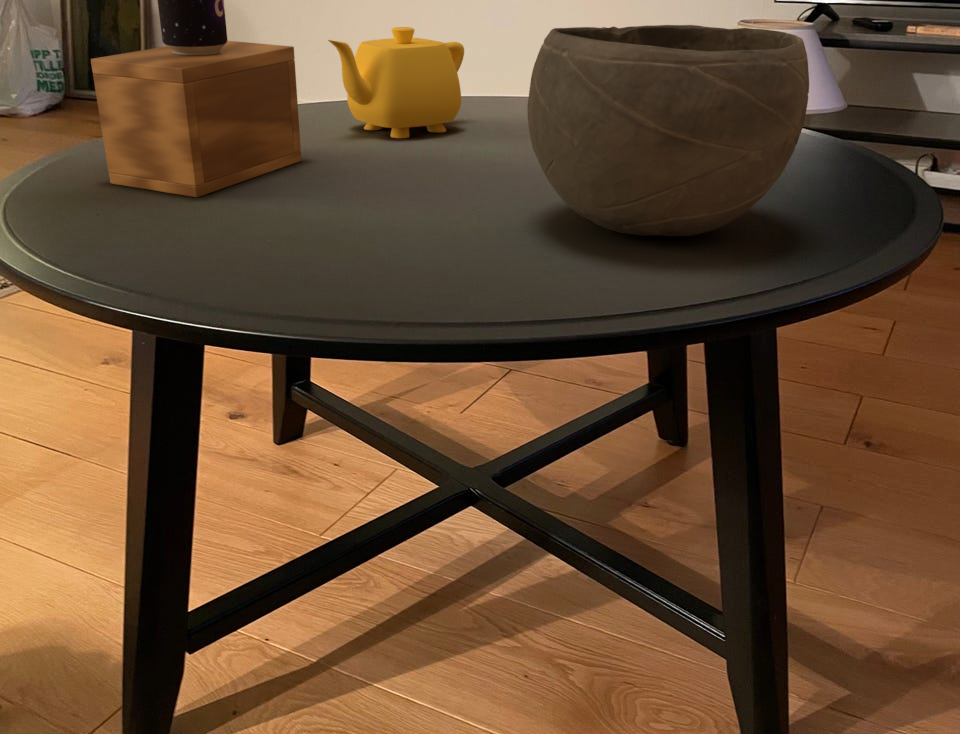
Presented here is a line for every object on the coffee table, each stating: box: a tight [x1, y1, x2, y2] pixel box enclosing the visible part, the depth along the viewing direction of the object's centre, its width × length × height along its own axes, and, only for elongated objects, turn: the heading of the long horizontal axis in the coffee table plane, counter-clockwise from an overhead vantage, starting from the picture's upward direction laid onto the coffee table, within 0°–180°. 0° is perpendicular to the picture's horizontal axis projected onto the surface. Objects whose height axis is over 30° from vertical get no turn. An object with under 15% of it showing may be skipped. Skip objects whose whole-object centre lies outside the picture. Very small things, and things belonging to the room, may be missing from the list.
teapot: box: [327, 26, 465, 139], centre depth 114 cm, size 18×11×11 cm, turn 130°
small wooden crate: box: [90, 40, 302, 198], centre depth 95 cm, size 10×16×11 cm, turn 154°
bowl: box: [527, 24, 810, 237], centre depth 81 cm, size 21×21×15 cm
